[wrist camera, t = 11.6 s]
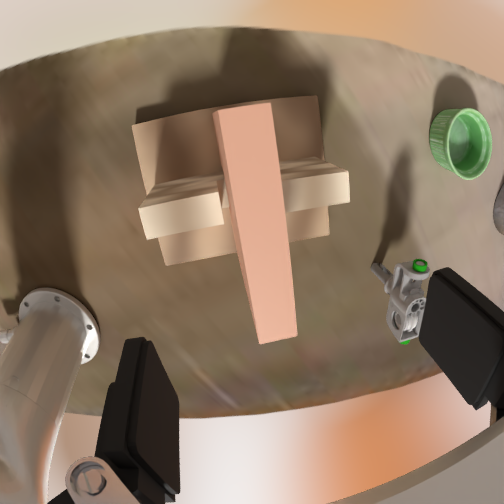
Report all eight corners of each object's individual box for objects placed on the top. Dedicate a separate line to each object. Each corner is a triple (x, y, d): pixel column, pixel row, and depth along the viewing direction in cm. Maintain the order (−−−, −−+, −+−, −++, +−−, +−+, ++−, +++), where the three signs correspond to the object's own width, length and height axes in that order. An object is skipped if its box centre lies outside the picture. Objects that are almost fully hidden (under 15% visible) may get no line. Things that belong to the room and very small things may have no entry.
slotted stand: (167, 259, 34) (156, 308, 25) (135, 125, 27) (106, 129, 19) (324, 229, 35) (360, 268, 27) (312, 95, 29) (352, 91, 20)
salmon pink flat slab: (212, 113, 27) (217, 110, 13) (238, 109, 27) (270, 102, 14) (236, 248, 33) (259, 344, 20) (259, 243, 33) (297, 335, 20)
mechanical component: (389, 228, 36) (436, 264, 27) (381, 297, 41) (417, 341, 32) (369, 231, 36) (414, 269, 27) (362, 301, 41) (397, 348, 32)
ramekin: (417, 113, 31) (440, 116, 27) (463, 99, 30) (485, 102, 26) (432, 180, 35) (453, 189, 31) (474, 161, 34) (495, 168, 30)
